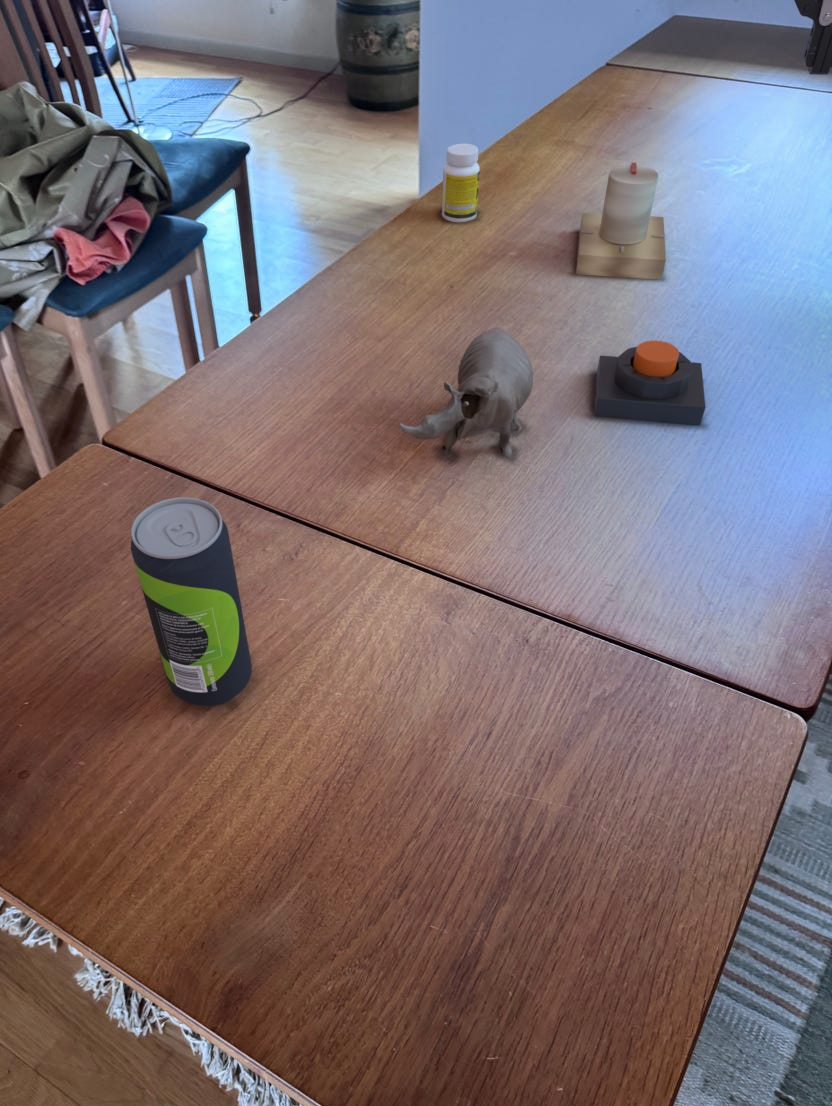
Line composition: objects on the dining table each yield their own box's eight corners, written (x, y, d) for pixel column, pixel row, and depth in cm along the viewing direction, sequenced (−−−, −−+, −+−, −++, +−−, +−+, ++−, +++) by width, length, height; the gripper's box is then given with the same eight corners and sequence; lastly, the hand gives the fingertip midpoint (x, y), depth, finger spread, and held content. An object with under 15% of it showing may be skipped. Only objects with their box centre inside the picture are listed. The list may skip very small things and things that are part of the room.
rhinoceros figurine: (568, 376, 89) (534, 294, 76) (519, 504, 89) (476, 444, 75) (496, 362, 93) (452, 282, 80) (448, 486, 92) (395, 425, 79)
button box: (696, 382, 93) (706, 346, 90) (699, 426, 87) (710, 390, 85) (596, 374, 94) (602, 338, 91) (594, 417, 89) (601, 381, 86)
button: (674, 358, 89) (678, 341, 88) (675, 379, 87) (680, 363, 85) (632, 354, 90) (636, 338, 89) (632, 376, 87) (636, 360, 86)
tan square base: (659, 236, 116) (663, 215, 114) (661, 280, 108) (666, 258, 106) (579, 232, 117) (582, 211, 115) (575, 275, 109) (579, 253, 107)
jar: (646, 246, 108) (659, 181, 103) (598, 243, 109) (609, 179, 104) (645, 226, 112) (658, 163, 107) (599, 223, 113) (609, 161, 107)
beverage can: (268, 685, 67) (244, 531, 56) (195, 726, 65) (154, 573, 54) (226, 636, 71) (196, 482, 60) (155, 673, 68) (109, 519, 57)
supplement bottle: (482, 220, 121) (487, 152, 114) (448, 225, 120) (451, 158, 114) (468, 206, 124) (472, 139, 118) (436, 211, 123) (438, 145, 117)
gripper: (810, -182, 67) (743, 83, 79) (1007, -186, 64) (905, 88, 77) (798, -195, 72) (736, 57, 84) (980, -198, 69) (889, 61, 82)
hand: (817, 71), depth 81 cm, fingers closed
